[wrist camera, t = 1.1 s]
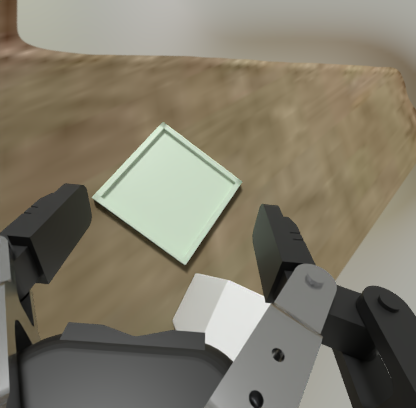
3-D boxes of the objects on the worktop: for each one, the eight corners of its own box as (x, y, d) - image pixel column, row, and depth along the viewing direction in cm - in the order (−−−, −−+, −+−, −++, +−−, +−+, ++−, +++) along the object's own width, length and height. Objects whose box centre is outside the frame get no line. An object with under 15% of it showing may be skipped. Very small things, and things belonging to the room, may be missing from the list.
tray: (93, 199, 34) (91, 197, 32) (162, 125, 39) (163, 121, 38) (184, 265, 34) (185, 265, 33) (239, 184, 40) (242, 181, 38)
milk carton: (171, 320, 32) (200, 393, 14) (195, 272, 34) (245, 283, 17) (216, 343, 33) (296, 440, 15) (236, 294, 35) (328, 328, 17)
